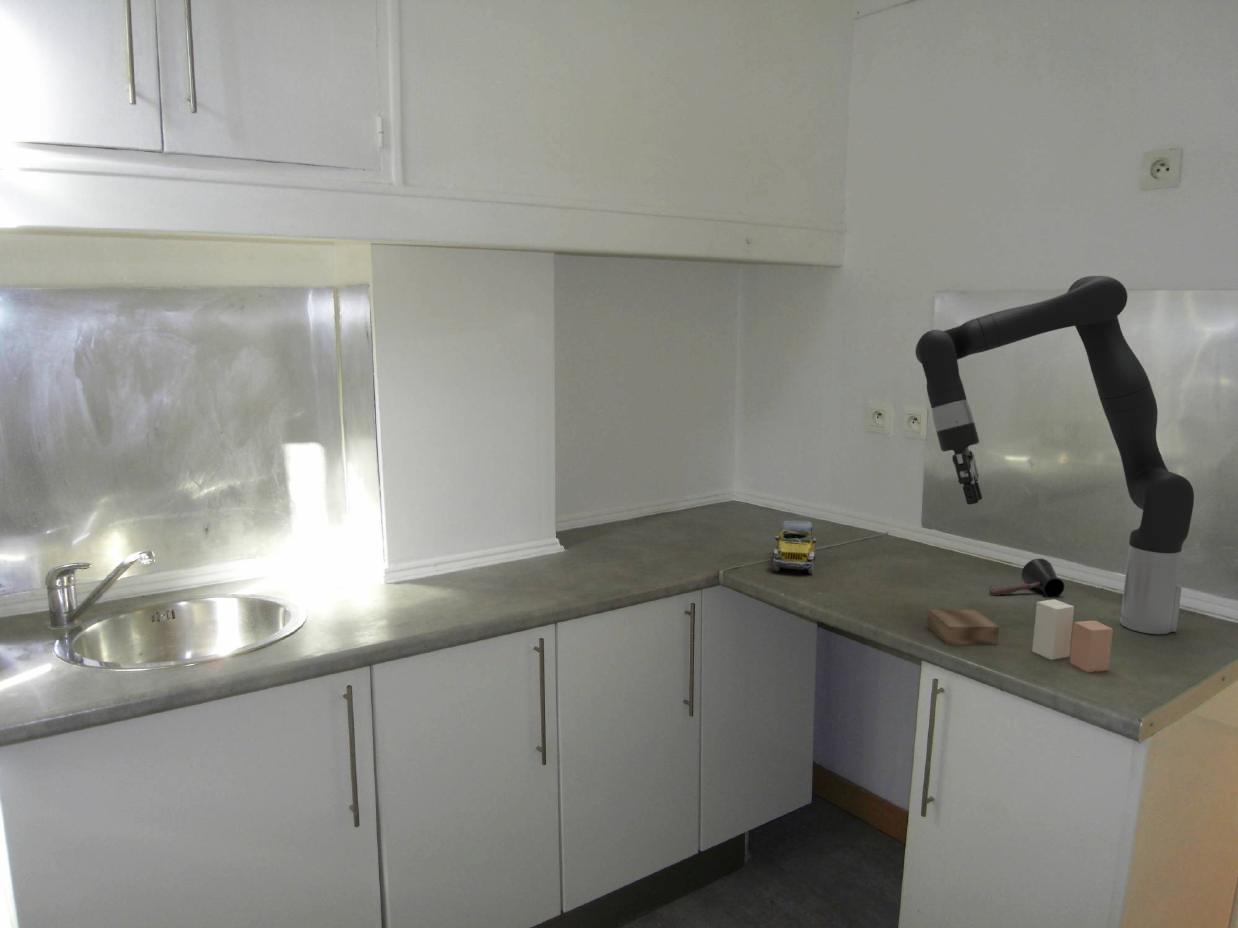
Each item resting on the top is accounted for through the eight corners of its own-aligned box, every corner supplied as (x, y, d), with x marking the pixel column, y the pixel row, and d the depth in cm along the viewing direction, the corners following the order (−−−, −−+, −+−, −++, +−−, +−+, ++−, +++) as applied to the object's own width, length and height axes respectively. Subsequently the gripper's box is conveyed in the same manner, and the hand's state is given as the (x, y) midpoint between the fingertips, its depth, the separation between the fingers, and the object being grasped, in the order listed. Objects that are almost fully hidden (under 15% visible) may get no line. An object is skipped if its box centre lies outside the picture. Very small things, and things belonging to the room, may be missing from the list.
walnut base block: (974, 627, 180) (975, 609, 179) (997, 645, 170) (999, 626, 169) (927, 628, 179) (928, 609, 179) (947, 646, 169) (949, 626, 169)
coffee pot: (1051, 584, 208) (1069, 600, 200) (976, 592, 208) (992, 609, 200) (1052, 555, 205) (1070, 571, 197) (977, 564, 206) (992, 580, 198)
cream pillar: (1049, 648, 168) (1054, 599, 166) (1069, 656, 164) (1074, 606, 162) (1032, 651, 166) (1037, 601, 165) (1051, 659, 162) (1056, 609, 161)
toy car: (770, 575, 214) (772, 536, 213) (776, 551, 235) (778, 516, 234) (813, 578, 212) (815, 539, 210) (815, 554, 233) (817, 518, 231)
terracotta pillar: (1090, 660, 162) (1094, 620, 161) (1108, 670, 158) (1113, 628, 156) (1069, 662, 161) (1073, 621, 160) (1087, 672, 157) (1091, 630, 155)
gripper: (970, 420, 169) (992, 501, 168) (976, 420, 182) (996, 495, 180) (931, 430, 172) (952, 509, 171) (940, 429, 185) (959, 503, 184)
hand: (975, 502), depth 176 cm, fingers open, 8 cm apart
